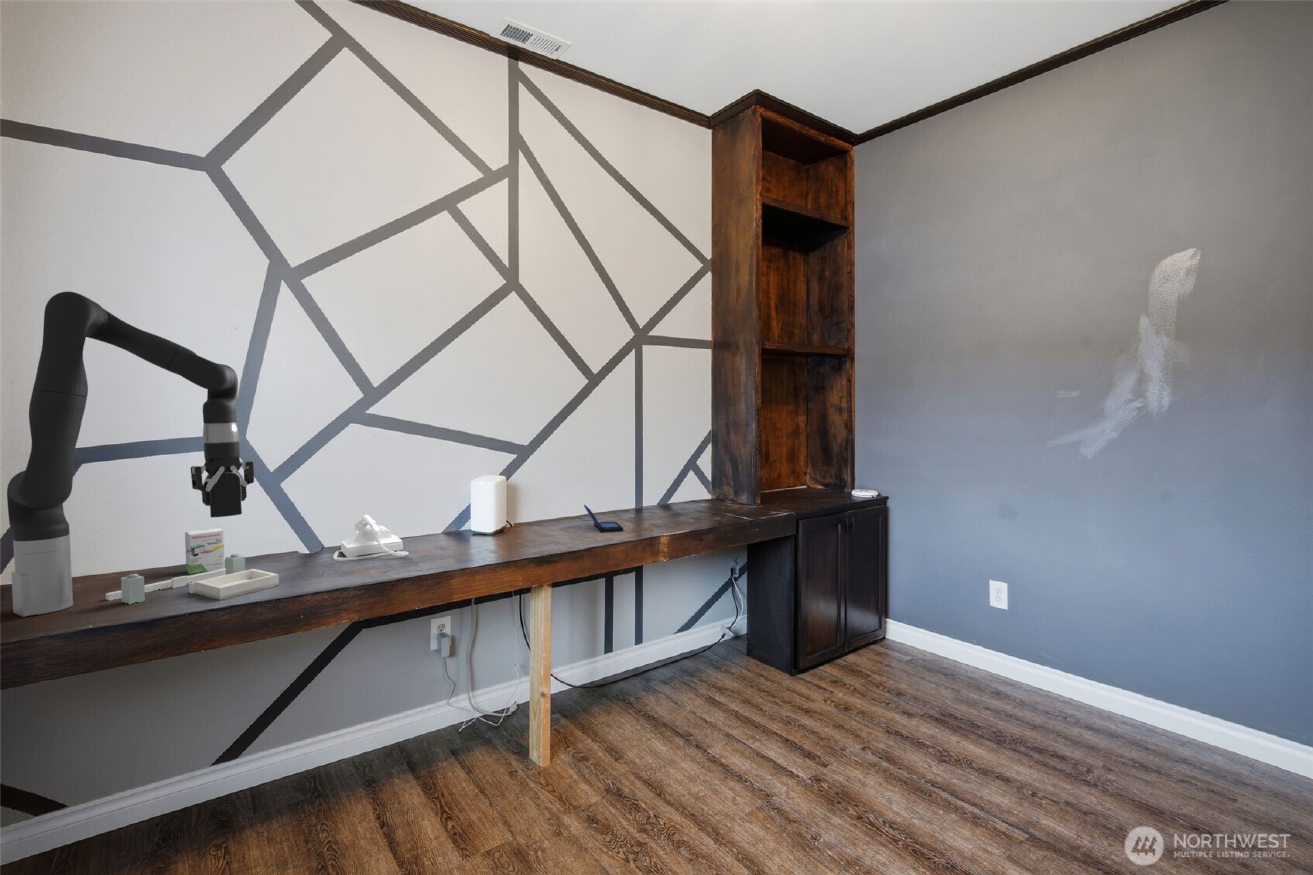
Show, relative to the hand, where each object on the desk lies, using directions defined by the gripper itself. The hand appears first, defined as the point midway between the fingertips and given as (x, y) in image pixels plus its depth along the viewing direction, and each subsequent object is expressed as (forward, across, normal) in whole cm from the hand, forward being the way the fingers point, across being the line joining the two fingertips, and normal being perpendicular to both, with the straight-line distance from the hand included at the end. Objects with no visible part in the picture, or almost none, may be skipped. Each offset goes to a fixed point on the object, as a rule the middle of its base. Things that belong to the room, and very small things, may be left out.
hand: (225, 502), depth 156 cm
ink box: (+23, +7, +26) cm, 35 cm away
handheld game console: (+26, +111, -47) cm, 123 cm away
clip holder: (+22, -6, +10) cm, 25 cm away
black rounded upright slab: (+4, 0, 0) cm, 4 cm away
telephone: (+24, +42, 0) cm, 48 cm away
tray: (+23, 0, -3) cm, 23 cm away
